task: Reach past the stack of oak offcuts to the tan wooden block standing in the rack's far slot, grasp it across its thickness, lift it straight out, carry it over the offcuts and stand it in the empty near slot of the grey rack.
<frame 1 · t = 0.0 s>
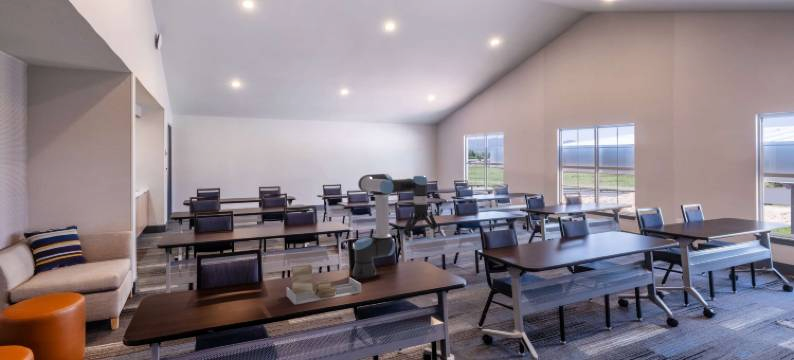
hand: (421, 241, 239), 28 cm above the table, fingers open, 13 cm apart
offcut top: (323, 286, 235), point 5 cm above the table, touching offcut middle
tan wooden block: (302, 298, 230), point 1 cm above the table, touching rack
rack: (324, 296, 235), on the table
offcut middle: (325, 290, 235), point 3 cm above the table, touching offcut bottom, offcut top
offcut bottom: (324, 294, 235), point 1 cm above the table, touching offcut middle, rack
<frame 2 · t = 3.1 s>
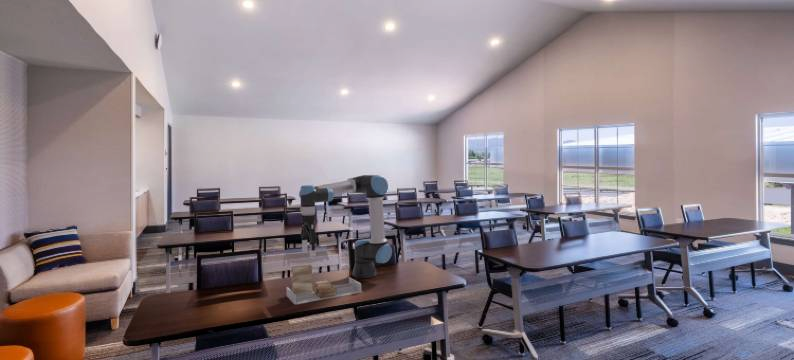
hand: (308, 254, 229), 24 cm above the table, fingers open, 13 cm apart
nothing on the table moved.
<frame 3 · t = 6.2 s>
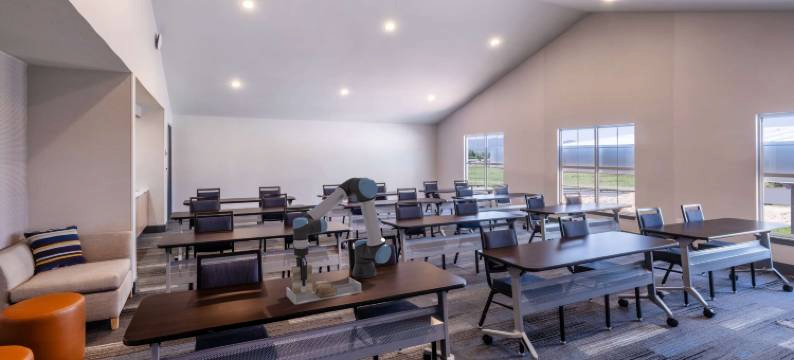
hand: (302, 290, 229), 5 cm above the table, fingers closed on tan wooden block, 3 cm apart
tan wooden block: (302, 298, 230), point 1 cm above the table, touching gripper, rack
everything else where it was.
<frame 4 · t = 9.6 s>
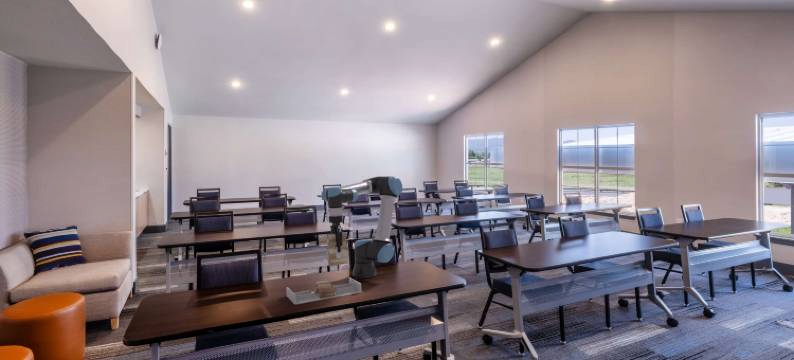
hand: (337, 257, 239), 21 cm above the table, fingers closed on tan wooden block, 3 cm apart
tan wooden block: (337, 264, 239), point 17 cm above the table, touching gripper
everything else where it was.
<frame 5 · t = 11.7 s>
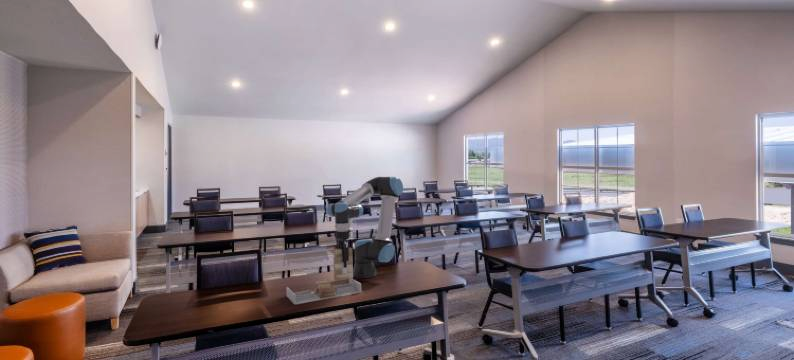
hand: (343, 272, 240), 12 cm above the table, fingers closed on tan wooden block, 3 cm apart
tan wooden block: (343, 279, 240), point 8 cm above the table, touching gripper
everything else where it was.
when the fingers open (6 cm above the table, at t = 13.3 s): tan wooden block drops 1 cm, resting on rack.
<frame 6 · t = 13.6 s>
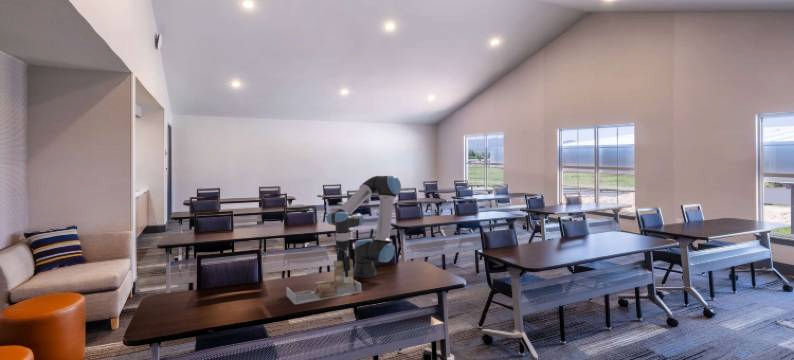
hand: (343, 280, 240), 7 cm above the table, fingers open, 7 cm apart
tan wooden block: (344, 290, 241), point 1 cm above the table, touching rack
everything else where it was.
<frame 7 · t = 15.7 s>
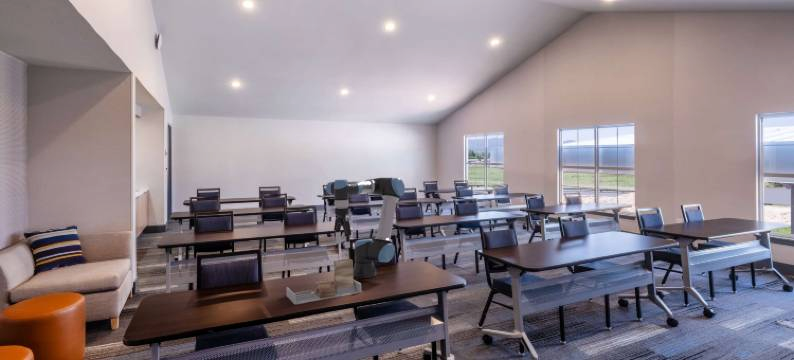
hand: (342, 245, 240), 27 cm above the table, fingers open, 13 cm apart
nothing on the table moved.
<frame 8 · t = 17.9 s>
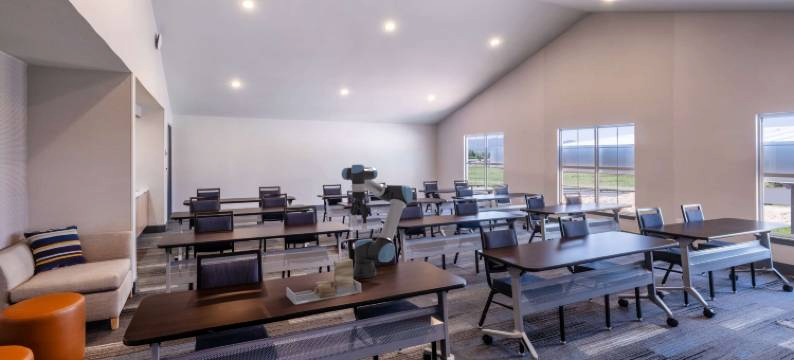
hand: (359, 227, 251), 35 cm above the table, fingers open, 13 cm apart
nothing on the table moved.
at the end: tan wooden block 0.0 cm from the target spot on the rack, point 1.2 cm above the rack's base; tan wooden block tilted 0°; the gripper is holding nothing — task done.
